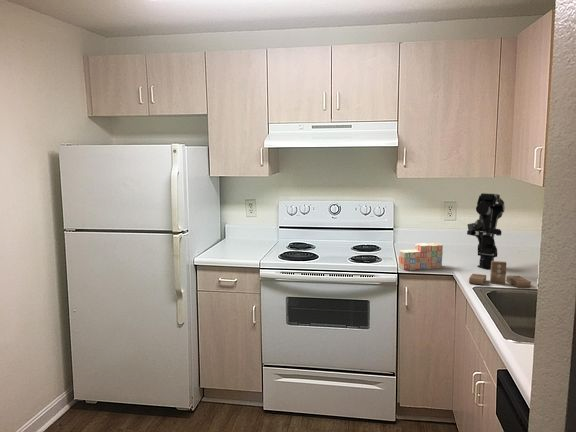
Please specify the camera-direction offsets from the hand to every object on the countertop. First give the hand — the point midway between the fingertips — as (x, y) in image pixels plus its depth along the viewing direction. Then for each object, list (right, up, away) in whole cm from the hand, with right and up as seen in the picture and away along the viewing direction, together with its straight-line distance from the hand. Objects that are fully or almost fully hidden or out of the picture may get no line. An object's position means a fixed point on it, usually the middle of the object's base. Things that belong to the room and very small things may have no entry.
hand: (481, 249), depth 235 cm
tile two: (+9, -12, -12) cm, 20 cm away
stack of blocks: (-26, -11, +14) cm, 32 cm away
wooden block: (-5, -12, -9) cm, 16 cm away
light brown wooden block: (+1, -14, -15) cm, 21 cm away
